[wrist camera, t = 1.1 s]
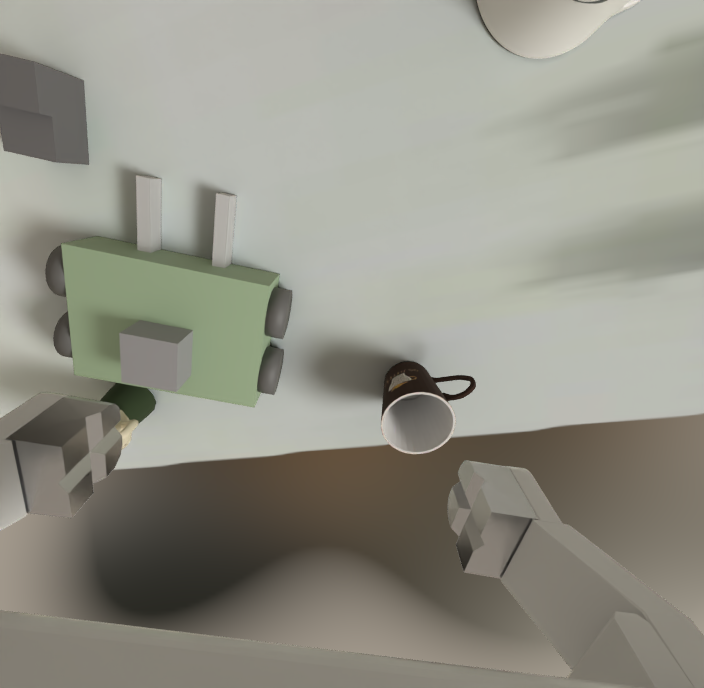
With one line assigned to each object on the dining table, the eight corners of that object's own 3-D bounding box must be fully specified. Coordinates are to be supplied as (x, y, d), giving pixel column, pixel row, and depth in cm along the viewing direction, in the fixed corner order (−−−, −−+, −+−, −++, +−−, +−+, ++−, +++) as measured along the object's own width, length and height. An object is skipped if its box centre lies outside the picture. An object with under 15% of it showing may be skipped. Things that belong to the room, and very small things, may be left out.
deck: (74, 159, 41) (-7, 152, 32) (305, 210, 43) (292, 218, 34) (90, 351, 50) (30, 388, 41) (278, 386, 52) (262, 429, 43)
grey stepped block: (34, 68, 38) (-27, 46, 32) (84, 80, 38) (34, 61, 32) (43, 154, 41) (-10, 149, 35) (89, 164, 41) (44, 161, 35)
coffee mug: (378, 409, 54) (383, 456, 44) (374, 356, 50) (378, 395, 41) (458, 404, 53) (480, 449, 44) (460, 349, 50) (484, 387, 41)
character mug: (115, 424, 55) (49, 490, 43) (89, 384, 52) (10, 443, 40) (181, 407, 54) (131, 471, 42) (157, 365, 51) (97, 420, 39)
